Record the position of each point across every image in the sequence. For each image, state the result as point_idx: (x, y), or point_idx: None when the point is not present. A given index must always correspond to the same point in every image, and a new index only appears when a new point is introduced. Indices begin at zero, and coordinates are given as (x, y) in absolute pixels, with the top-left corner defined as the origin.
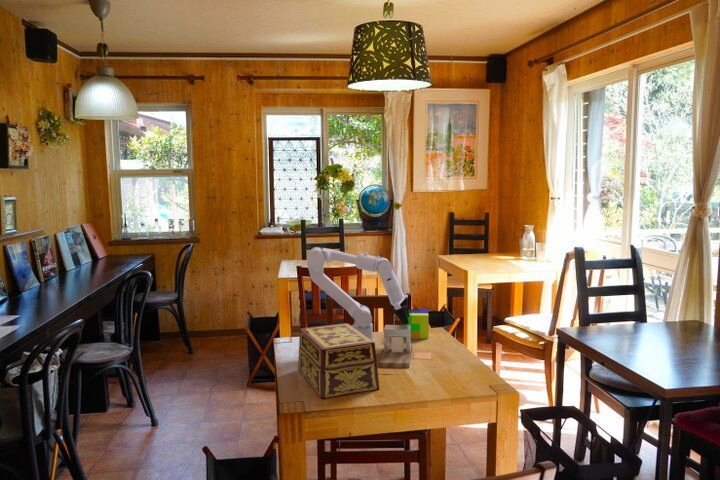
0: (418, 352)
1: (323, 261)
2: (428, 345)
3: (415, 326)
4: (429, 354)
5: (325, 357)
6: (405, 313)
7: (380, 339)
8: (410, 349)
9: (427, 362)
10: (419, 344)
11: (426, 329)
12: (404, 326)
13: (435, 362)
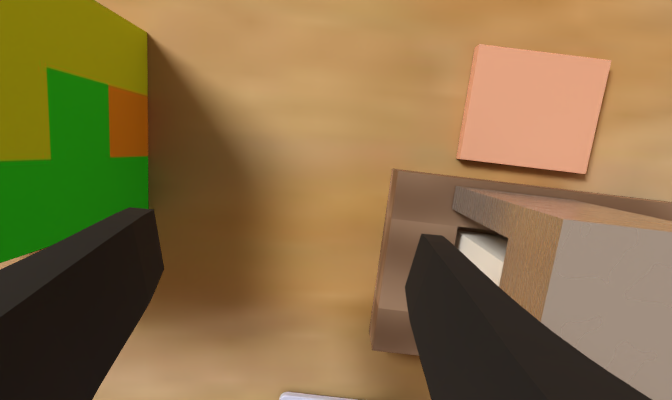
0: (468, 132)
1: None
2: (279, 46)
3: (73, 120)
4: (518, 59)
5: None
6: (593, 374)
7: (149, 355)
8: (491, 189)
9: (634, 88)
10: (255, 109)
11: (91, 17)
12: (608, 300)
13: (642, 35)
